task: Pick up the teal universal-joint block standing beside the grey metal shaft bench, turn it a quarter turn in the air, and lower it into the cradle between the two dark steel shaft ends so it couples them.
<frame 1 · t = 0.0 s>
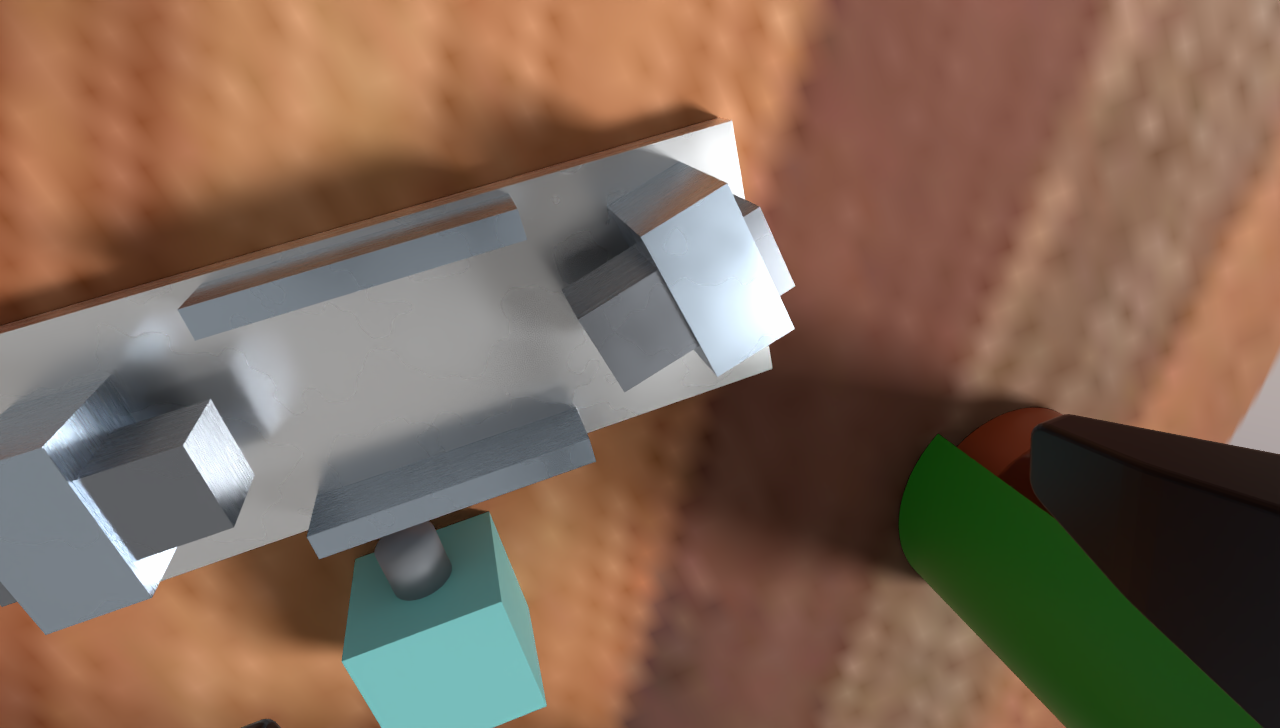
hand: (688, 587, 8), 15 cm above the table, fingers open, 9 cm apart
coupler: (446, 583, 25), on the table
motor: (997, 498, 31), on the table
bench: (413, 351, 21), on the table
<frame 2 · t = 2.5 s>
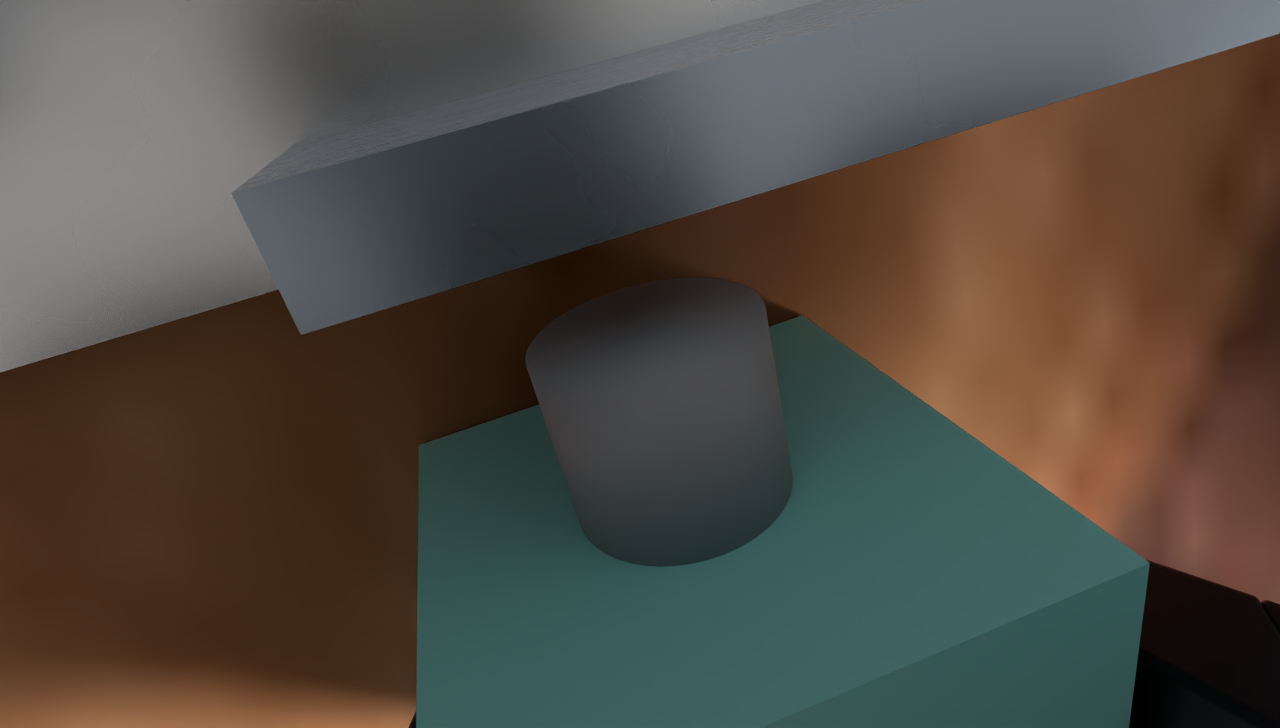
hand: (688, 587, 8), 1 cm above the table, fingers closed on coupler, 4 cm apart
coupler: (661, 532, 9), on the table, touching gripper
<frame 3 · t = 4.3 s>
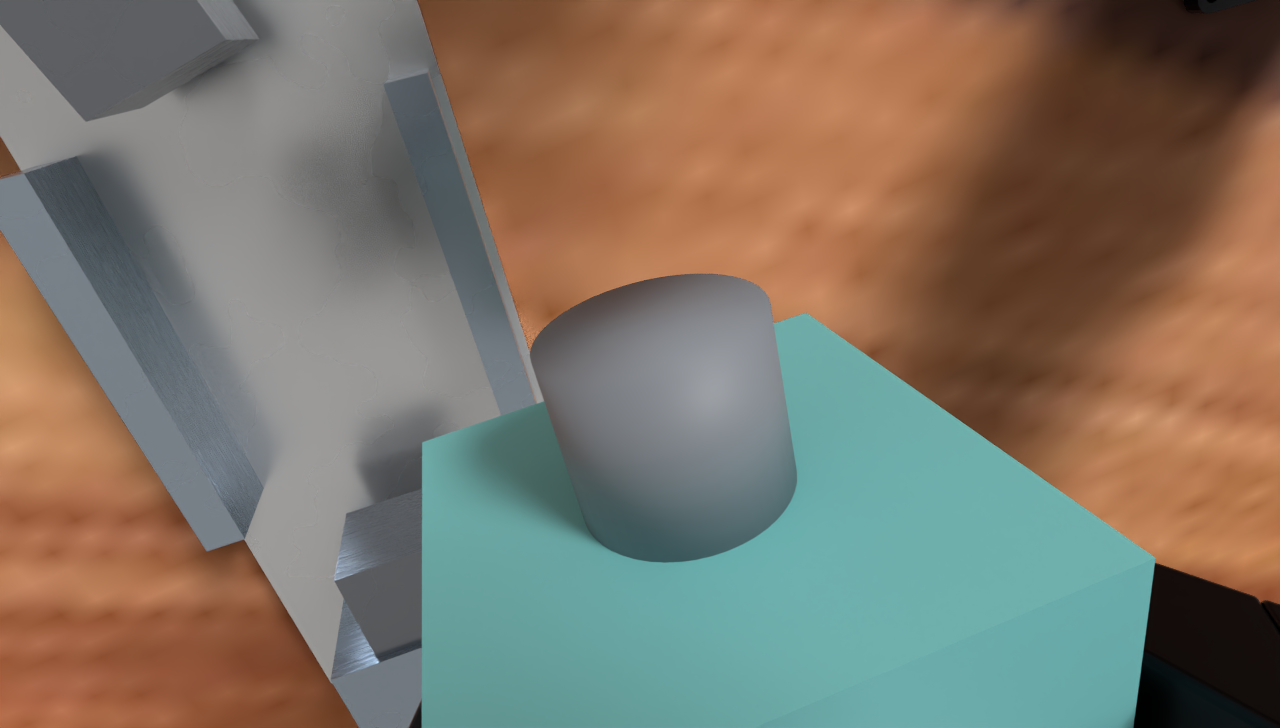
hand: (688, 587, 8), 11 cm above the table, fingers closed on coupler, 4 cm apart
coupler: (664, 529, 9), point 10 cm above the table, touching gripper
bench: (326, 287, 17), on the table
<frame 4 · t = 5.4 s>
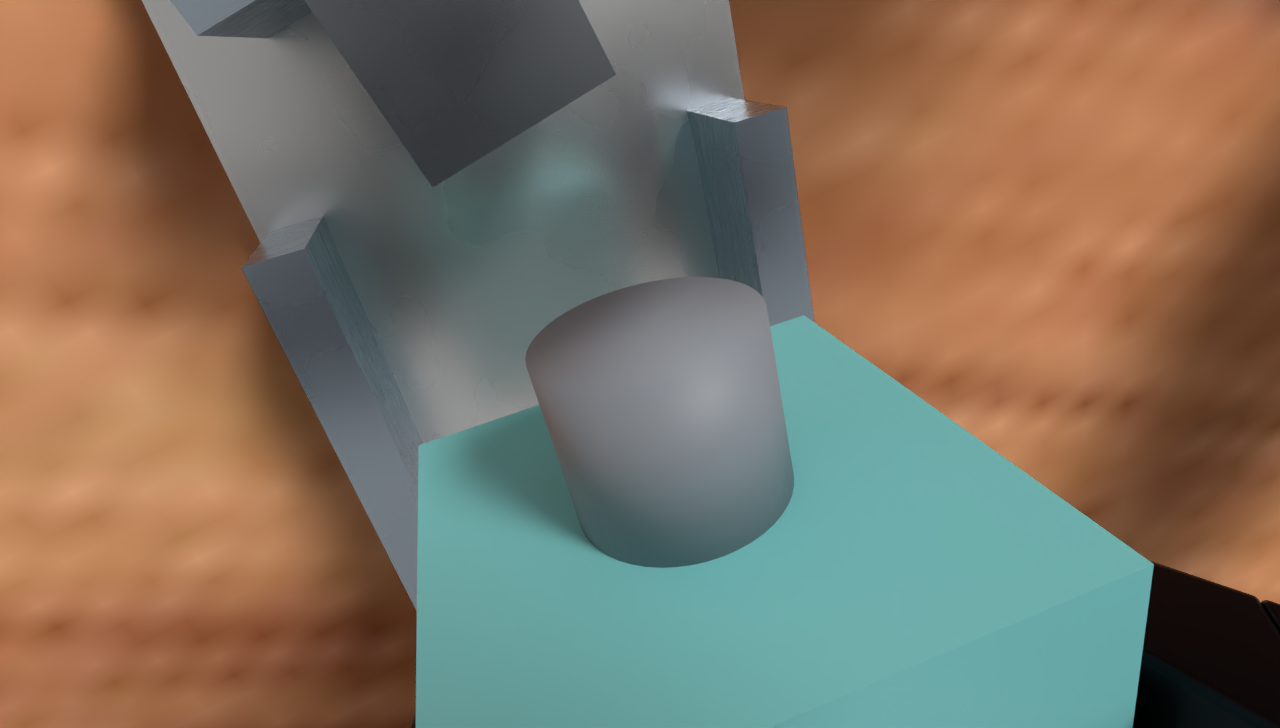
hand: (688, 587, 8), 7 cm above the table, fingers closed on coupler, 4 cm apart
coupler: (661, 532, 9), point 6 cm above the table, touching gripper
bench: (568, 356, 14), on the table
when the fingers open (4 cm above the table, at t = 6.3 s): coupler drops 2 cm, resting on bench.
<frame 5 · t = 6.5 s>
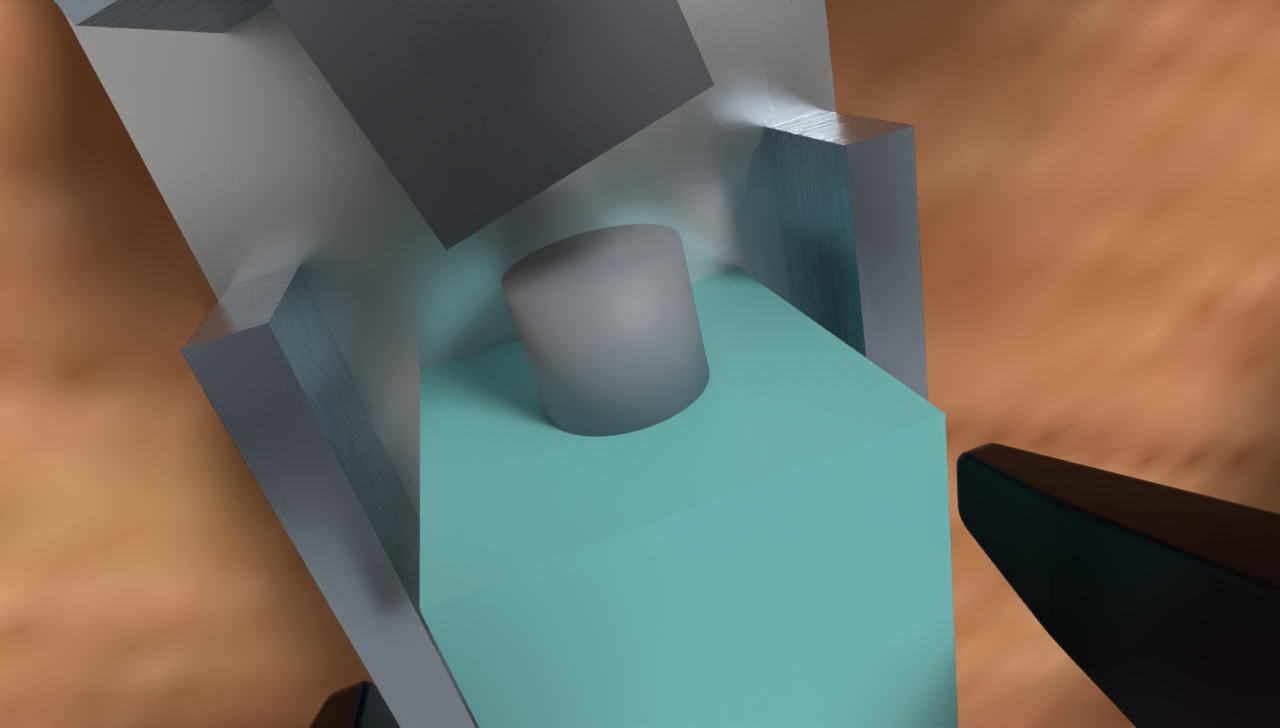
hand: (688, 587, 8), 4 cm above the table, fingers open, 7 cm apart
coupler: (623, 452, 11), point 1 cm above the table, touching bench
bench: (605, 423, 12), on the table
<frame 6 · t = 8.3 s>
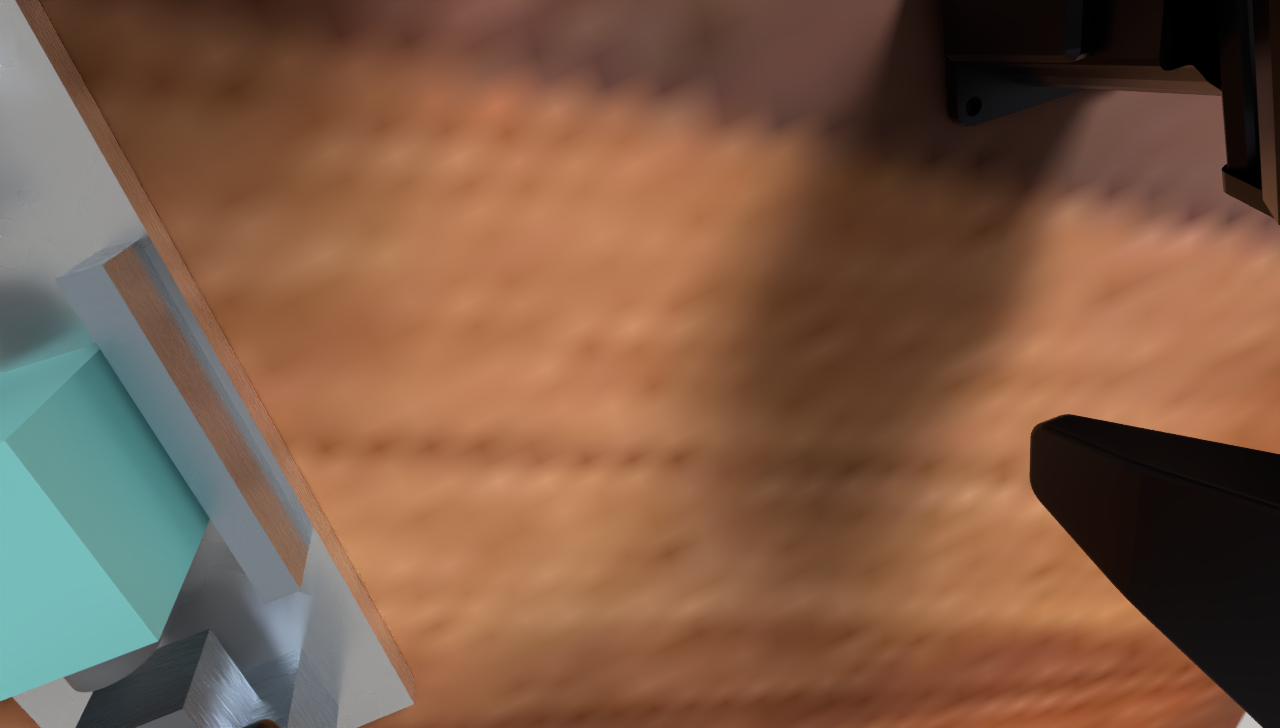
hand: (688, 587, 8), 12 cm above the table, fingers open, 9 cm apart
coupler: (59, 463, 16), point 1 cm above the table, touching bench
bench: (75, 442, 17), on the table
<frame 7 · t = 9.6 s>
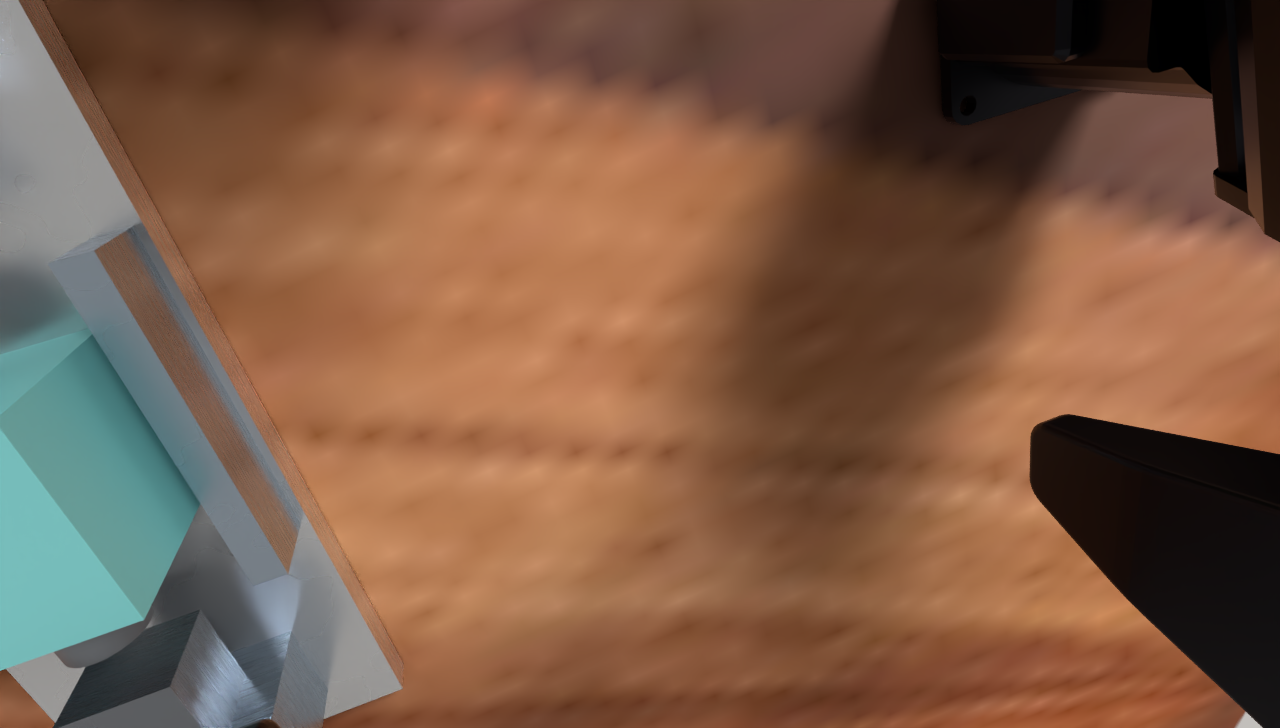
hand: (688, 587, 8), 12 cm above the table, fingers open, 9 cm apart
coupler: (55, 444, 16), point 1 cm above the table, touching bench
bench: (71, 424, 17), on the table
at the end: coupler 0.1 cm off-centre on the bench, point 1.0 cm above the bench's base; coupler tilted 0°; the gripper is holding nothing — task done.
